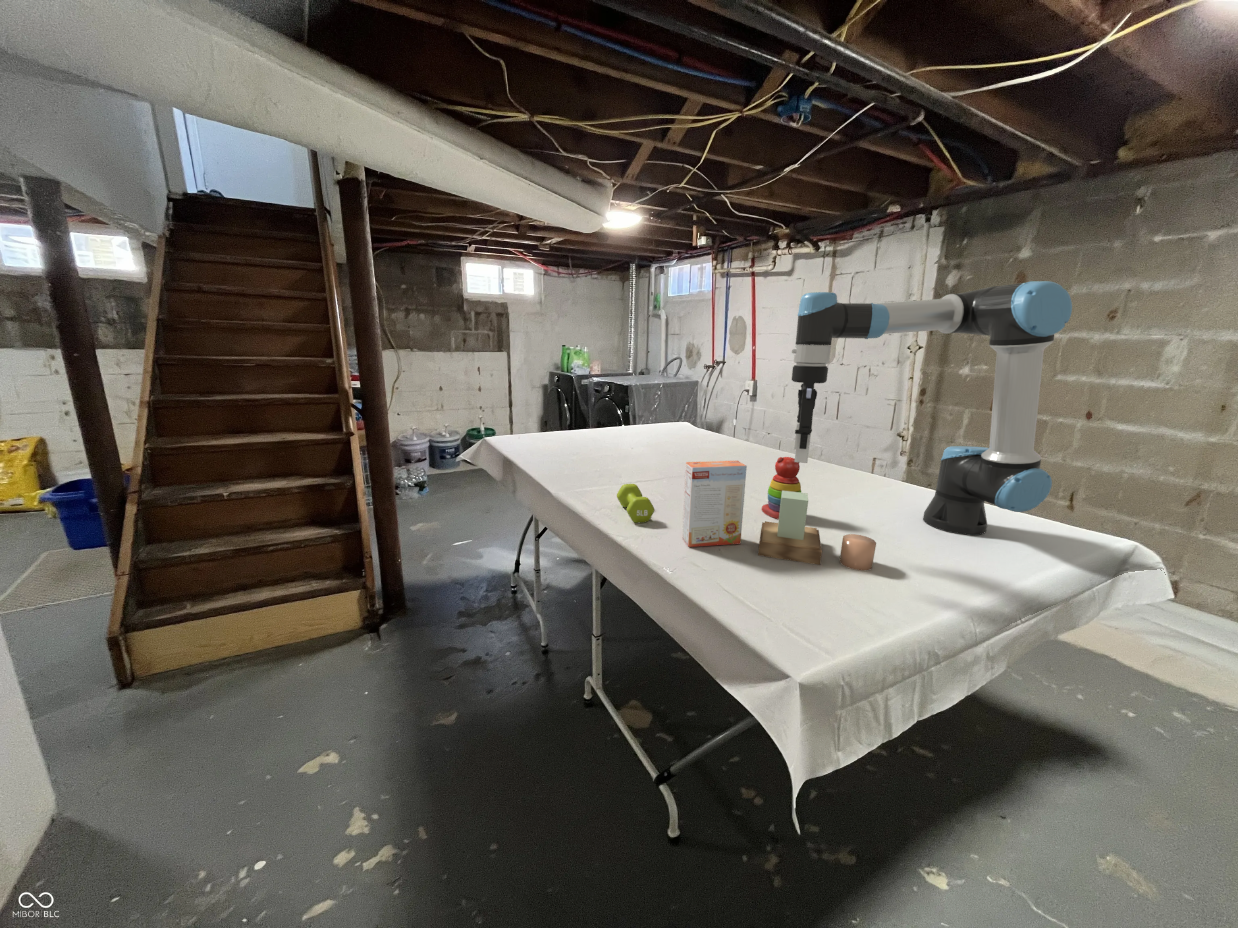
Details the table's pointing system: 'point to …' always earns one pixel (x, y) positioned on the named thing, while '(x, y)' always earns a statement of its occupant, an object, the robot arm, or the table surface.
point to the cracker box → (713, 503)
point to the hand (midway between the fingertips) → (800, 455)
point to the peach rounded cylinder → (857, 552)
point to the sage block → (792, 515)
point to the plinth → (790, 545)
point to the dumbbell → (635, 503)
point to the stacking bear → (782, 484)
